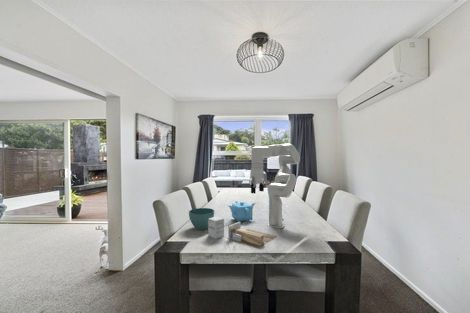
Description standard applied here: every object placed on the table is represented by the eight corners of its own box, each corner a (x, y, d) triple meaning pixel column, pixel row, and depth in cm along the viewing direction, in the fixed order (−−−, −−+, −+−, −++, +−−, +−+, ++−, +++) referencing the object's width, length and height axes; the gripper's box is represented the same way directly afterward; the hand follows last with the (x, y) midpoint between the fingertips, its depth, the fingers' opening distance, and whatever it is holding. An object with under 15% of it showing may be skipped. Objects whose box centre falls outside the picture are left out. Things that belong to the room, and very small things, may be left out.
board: (247, 231, 155) (247, 228, 155) (277, 238, 140) (277, 236, 140) (226, 240, 138) (226, 238, 138) (258, 250, 123) (258, 247, 123)
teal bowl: (209, 233, 151) (209, 215, 151) (184, 231, 155) (184, 213, 155) (217, 224, 169) (217, 208, 169) (194, 223, 172) (194, 207, 172)
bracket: (239, 234, 145) (239, 221, 145) (250, 237, 139) (250, 224, 139) (228, 239, 136) (228, 226, 136) (239, 242, 131) (239, 228, 131)
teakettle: (248, 225, 168) (248, 205, 168) (226, 222, 175) (226, 203, 175) (256, 218, 185) (256, 200, 185) (235, 216, 192) (235, 199, 192)
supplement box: (207, 238, 142) (207, 218, 142) (217, 235, 147) (216, 216, 147) (215, 241, 137) (215, 220, 136) (224, 238, 142) (224, 218, 142)
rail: (239, 236, 141) (239, 228, 140) (263, 243, 129) (263, 234, 129) (235, 238, 137) (235, 230, 137) (260, 245, 126) (260, 236, 126)
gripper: (259, 165, 155) (259, 190, 155) (244, 166, 141) (244, 193, 141) (269, 165, 150) (269, 191, 150) (254, 166, 137) (254, 194, 137)
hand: (257, 192), depth 146 cm, fingers open, 9 cm apart
